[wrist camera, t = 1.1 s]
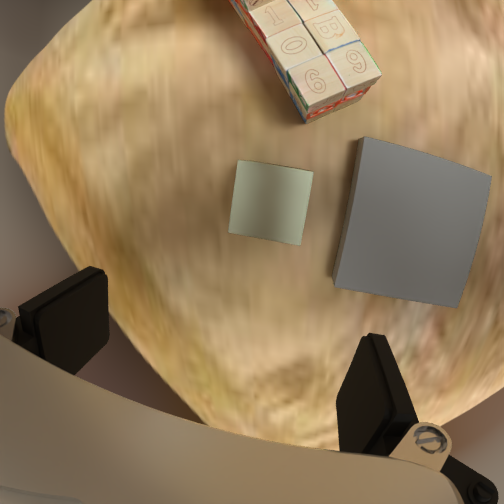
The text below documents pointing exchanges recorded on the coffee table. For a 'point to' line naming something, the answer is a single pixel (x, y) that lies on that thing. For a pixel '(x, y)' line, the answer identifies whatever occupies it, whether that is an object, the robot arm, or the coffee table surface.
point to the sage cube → (270, 201)
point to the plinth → (410, 225)
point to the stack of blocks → (311, 52)
